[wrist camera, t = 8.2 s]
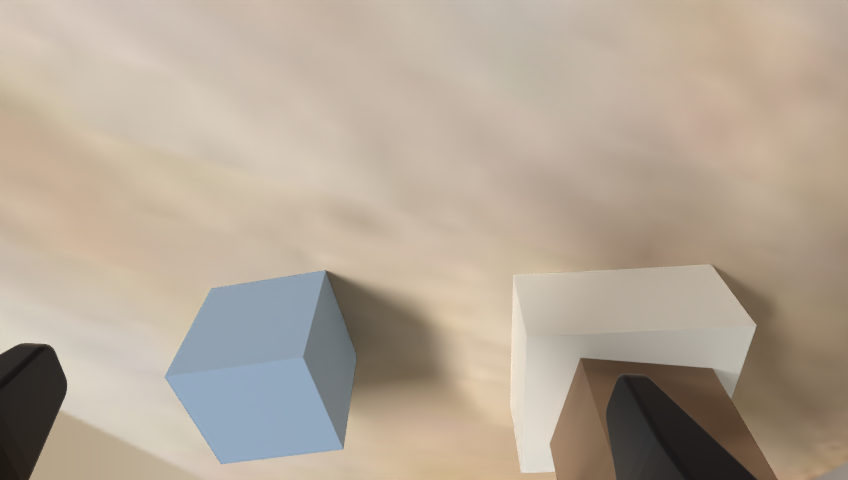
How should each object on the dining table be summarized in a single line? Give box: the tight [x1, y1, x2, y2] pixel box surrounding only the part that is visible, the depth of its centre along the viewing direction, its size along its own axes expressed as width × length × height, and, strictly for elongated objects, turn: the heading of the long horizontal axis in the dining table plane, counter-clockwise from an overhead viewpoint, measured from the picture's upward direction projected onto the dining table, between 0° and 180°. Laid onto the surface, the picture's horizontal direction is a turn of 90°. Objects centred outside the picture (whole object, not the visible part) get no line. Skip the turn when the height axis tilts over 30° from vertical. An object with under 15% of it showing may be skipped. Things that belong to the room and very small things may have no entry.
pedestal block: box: [510, 264, 757, 473], centre depth 23 cm, size 8×8×4 cm
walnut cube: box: [550, 358, 778, 480], centre depth 19 cm, size 5×5×6 cm
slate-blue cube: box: [165, 270, 357, 464], centre depth 22 cm, size 5×5×5 cm
